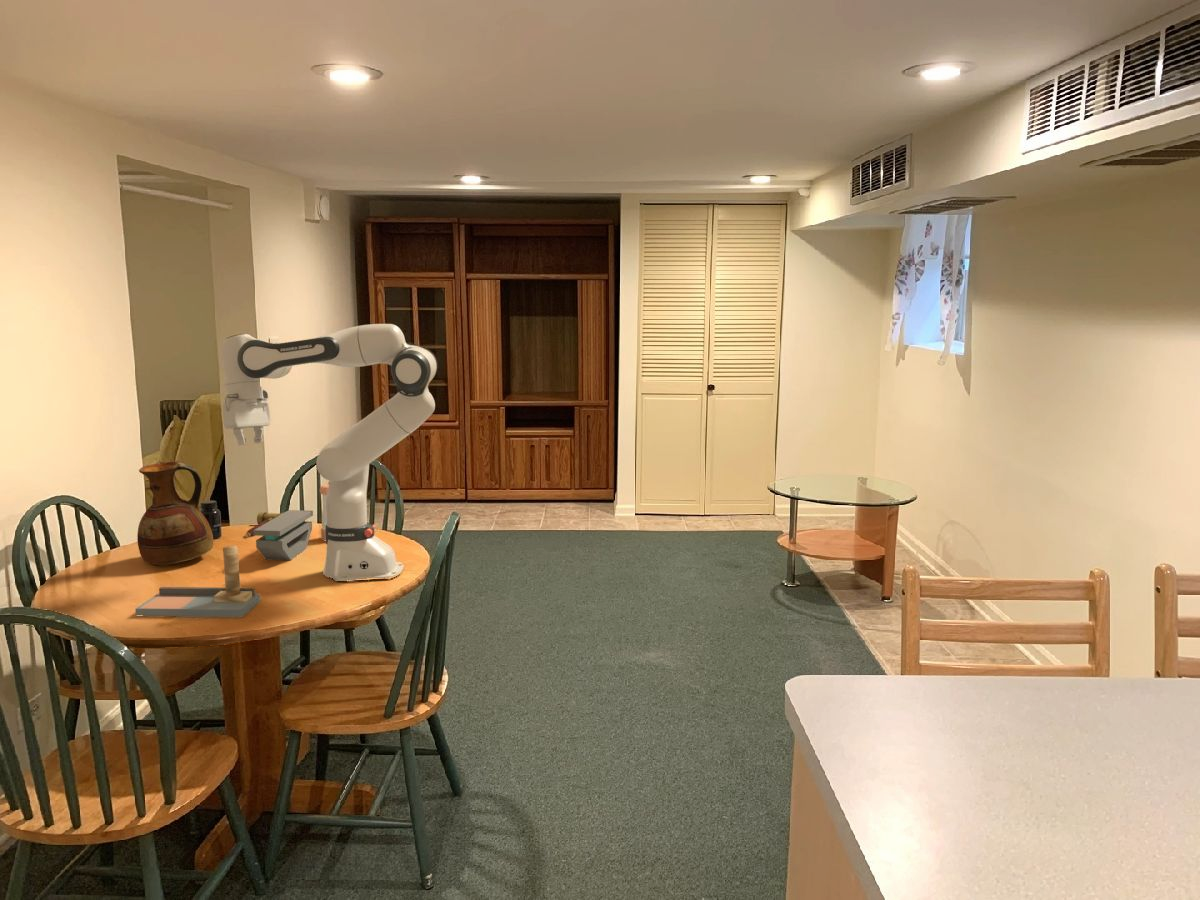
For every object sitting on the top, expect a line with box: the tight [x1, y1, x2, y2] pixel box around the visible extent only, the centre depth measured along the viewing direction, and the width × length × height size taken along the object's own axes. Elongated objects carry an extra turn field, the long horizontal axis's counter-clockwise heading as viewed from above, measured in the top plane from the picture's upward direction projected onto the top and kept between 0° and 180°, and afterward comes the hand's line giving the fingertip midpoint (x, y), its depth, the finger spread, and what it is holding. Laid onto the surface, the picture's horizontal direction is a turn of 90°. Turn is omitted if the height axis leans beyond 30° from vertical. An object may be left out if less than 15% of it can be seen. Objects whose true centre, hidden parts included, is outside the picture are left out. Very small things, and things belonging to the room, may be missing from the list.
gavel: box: [244, 511, 284, 538], centre depth 296 cm, size 21×5×10 cm
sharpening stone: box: [254, 509, 314, 561], centre depth 268 cm, size 25×8×11 cm, turn 177°
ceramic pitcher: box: [137, 461, 214, 566], centre depth 259 cm, size 20×20×30 cm
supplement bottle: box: [199, 500, 223, 540], centre depth 285 cm, size 7×7×12 cm
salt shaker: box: [319, 481, 329, 541], centre depth 285 cm, size 7×7×19 cm
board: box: [135, 586, 261, 618], centre depth 221 cm, size 26×12×4 cm, turn 90°
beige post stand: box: [214, 545, 252, 602], centre depth 222 cm, size 8×4×14 cm, turn 90°
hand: (250, 443), depth 242 cm, fingers open, 8 cm apart
